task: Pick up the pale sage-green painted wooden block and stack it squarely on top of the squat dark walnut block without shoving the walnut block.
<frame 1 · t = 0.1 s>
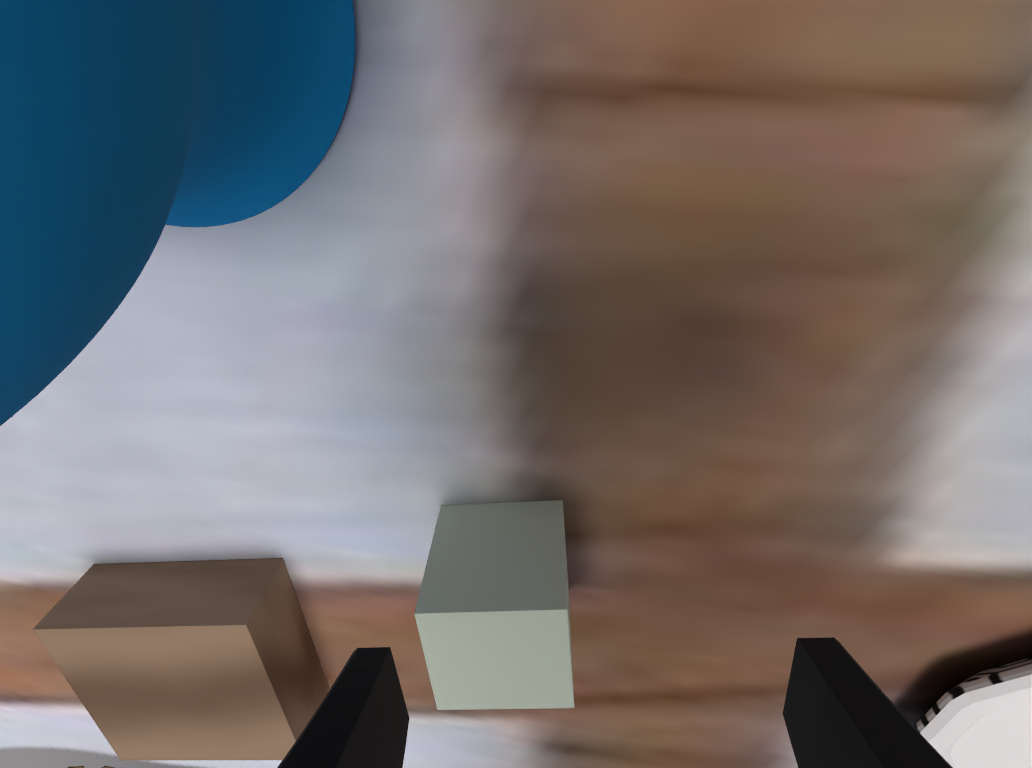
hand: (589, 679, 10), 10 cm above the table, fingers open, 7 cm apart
green block: (507, 548, 22), on the table
vase: (170, 22, 15), on the table
base block: (222, 623, 25), on the table
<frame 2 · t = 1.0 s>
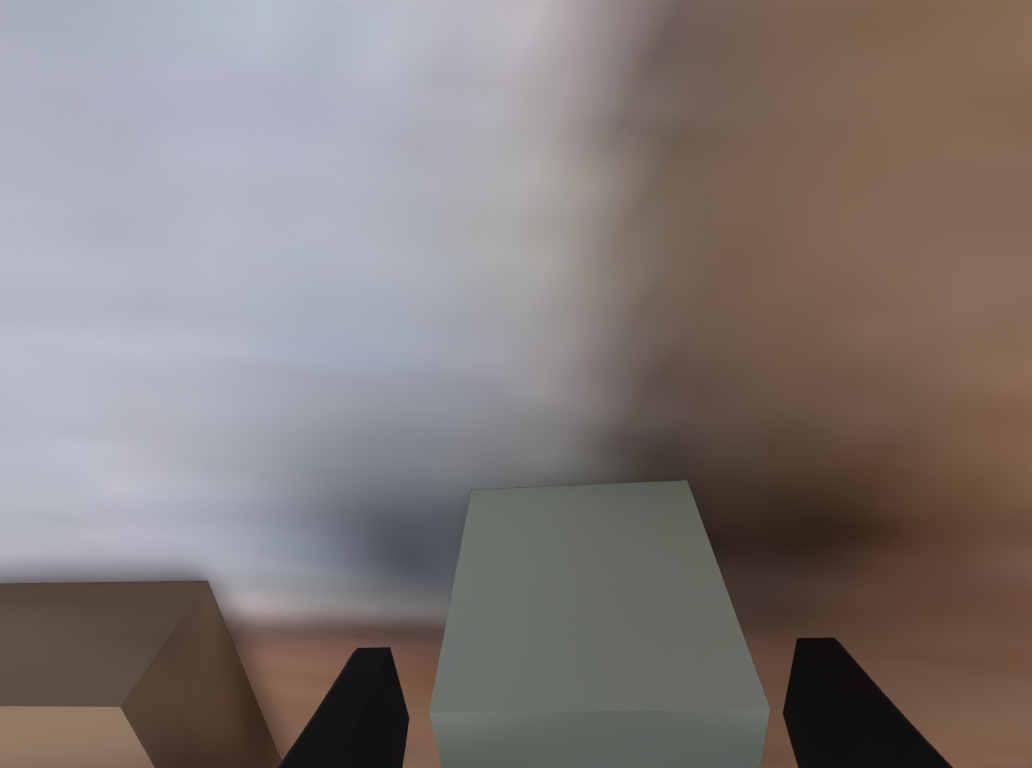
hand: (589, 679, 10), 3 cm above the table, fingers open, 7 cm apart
green block: (581, 564, 13), on the table
base block: (119, 679, 16), on the table
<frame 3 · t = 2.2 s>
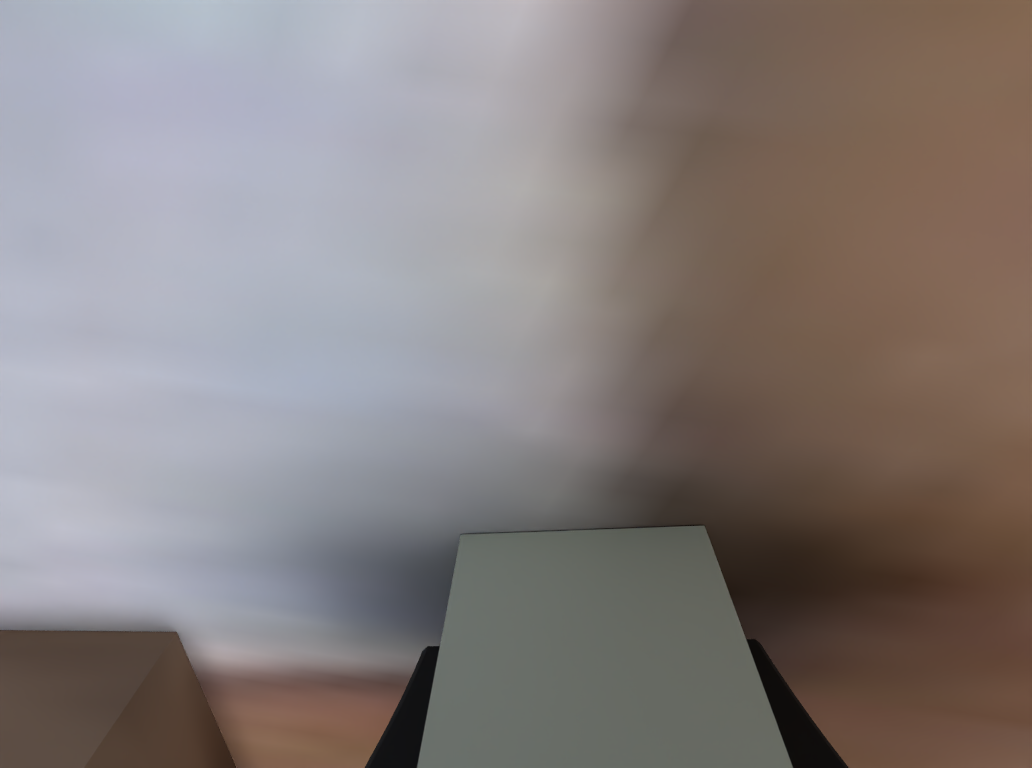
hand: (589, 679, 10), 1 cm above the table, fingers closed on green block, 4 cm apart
green block: (584, 616, 12), on the table, touching gripper
base block: (81, 728, 15), on the table
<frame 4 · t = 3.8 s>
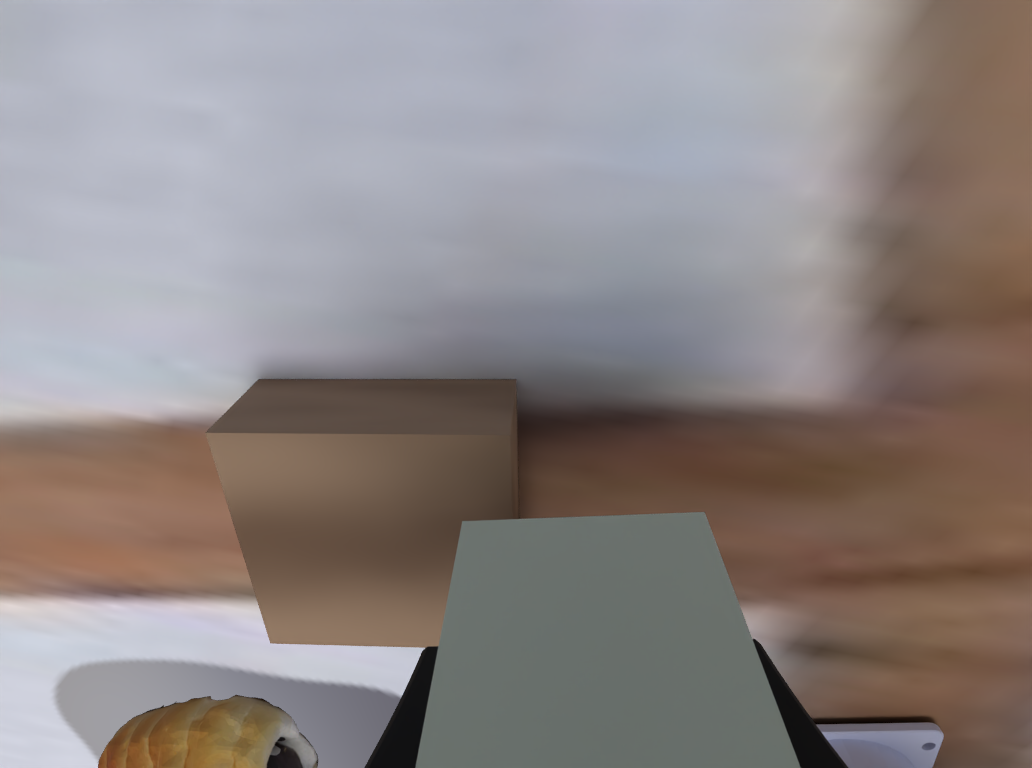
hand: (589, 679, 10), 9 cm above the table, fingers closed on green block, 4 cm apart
green block: (585, 603, 12), point 7 cm above the table, touching gripper
pastry: (235, 732, 27), on the table
base block: (402, 479, 20), on the table
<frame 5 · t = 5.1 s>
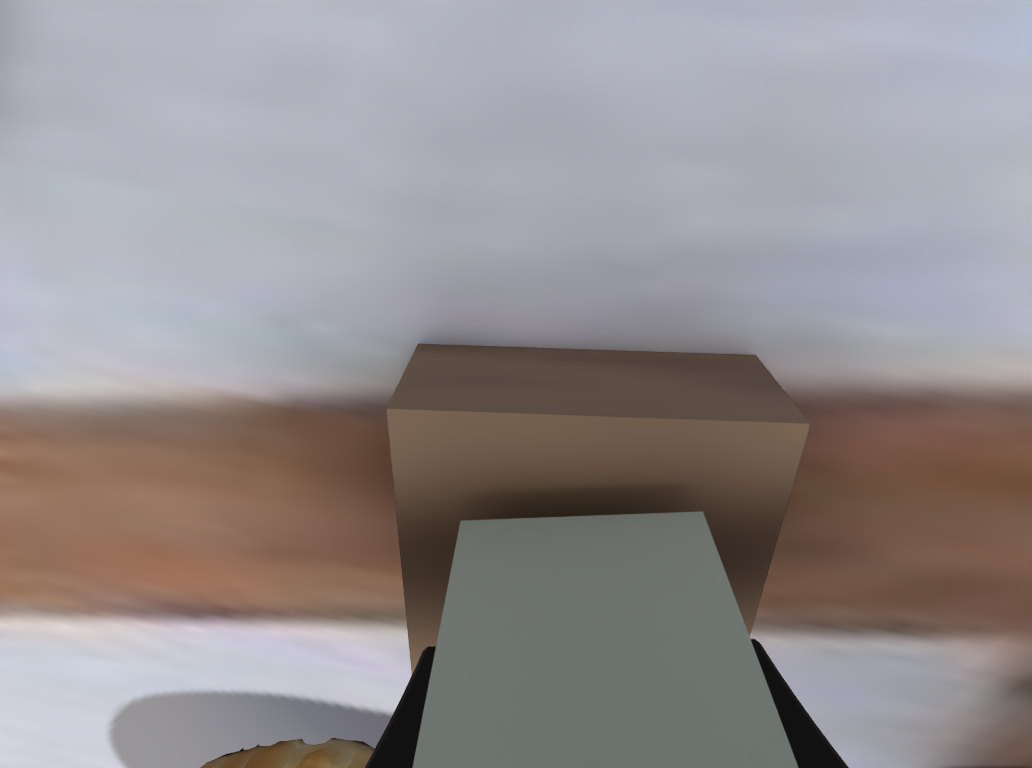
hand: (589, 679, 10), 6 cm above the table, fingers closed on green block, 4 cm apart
green block: (583, 602, 12), point 4 cm above the table, touching gripper
base block: (574, 478, 16), on the table
when the fingers open (6 cm above the table, at t = 5.8 s): green block drops 1 cm, point 3 cm above the table.
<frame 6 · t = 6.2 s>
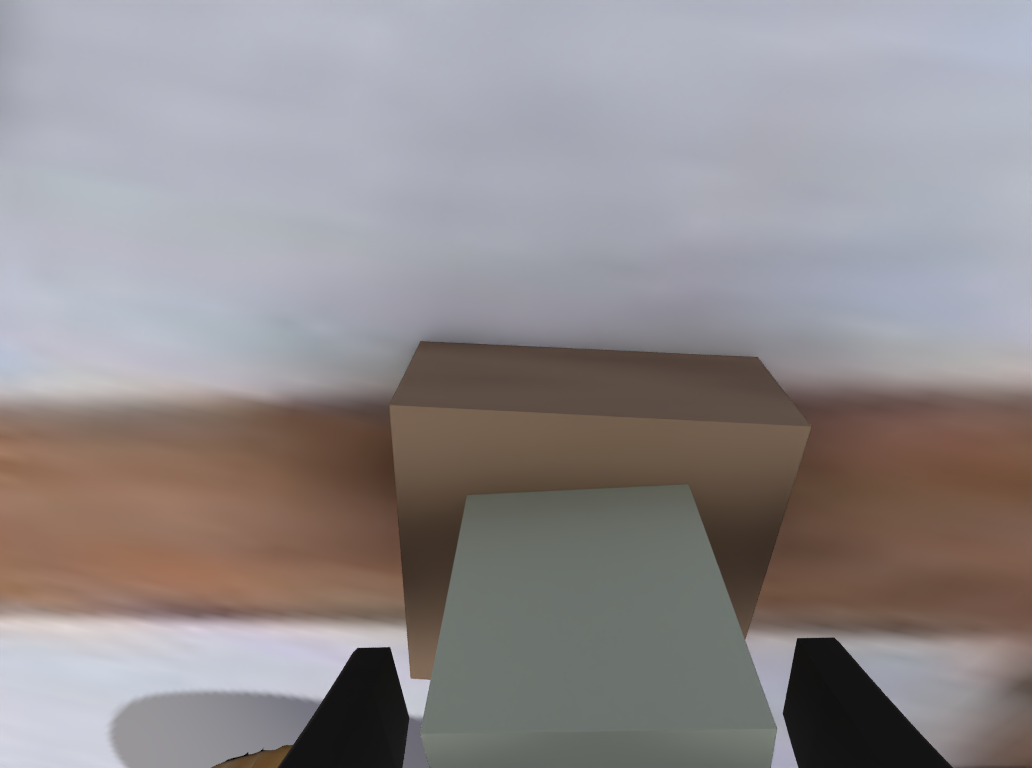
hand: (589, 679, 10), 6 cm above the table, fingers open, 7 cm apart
green block: (581, 572, 13), point 3 cm above the table
base block: (574, 476, 16), on the table
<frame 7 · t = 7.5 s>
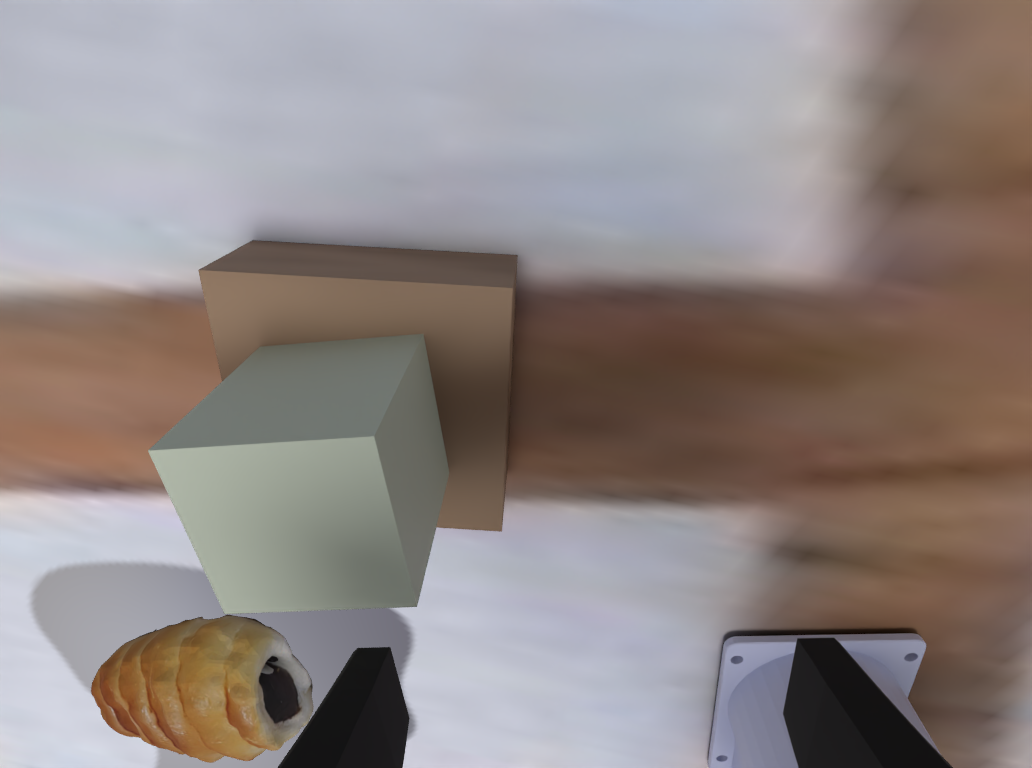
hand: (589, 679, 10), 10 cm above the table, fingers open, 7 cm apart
green block: (359, 412, 16), point 3 cm above the table, touching base block
pastry: (229, 658, 27), on the table
base block: (394, 362, 20), on the table, touching green block
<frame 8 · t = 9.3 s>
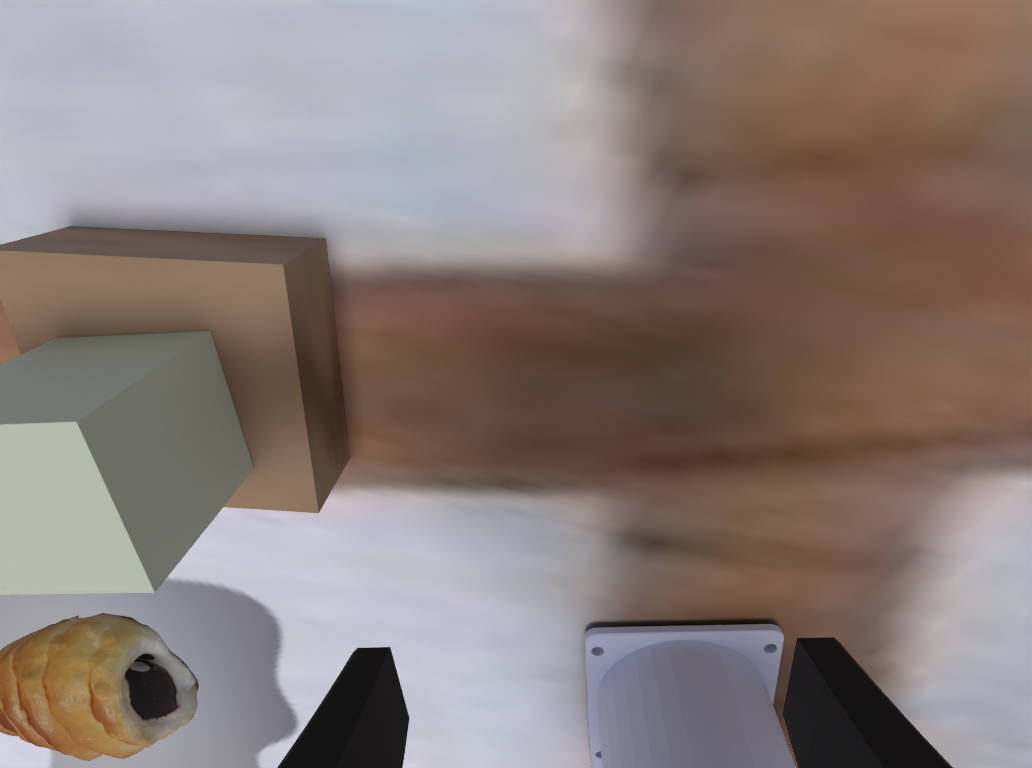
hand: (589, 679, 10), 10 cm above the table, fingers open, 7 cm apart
green block: (159, 406, 17), point 3 cm above the table
pastry: (115, 657, 28), on the table
base block: (227, 347, 20), on the table
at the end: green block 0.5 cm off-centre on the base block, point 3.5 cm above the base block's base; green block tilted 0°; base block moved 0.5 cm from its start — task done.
